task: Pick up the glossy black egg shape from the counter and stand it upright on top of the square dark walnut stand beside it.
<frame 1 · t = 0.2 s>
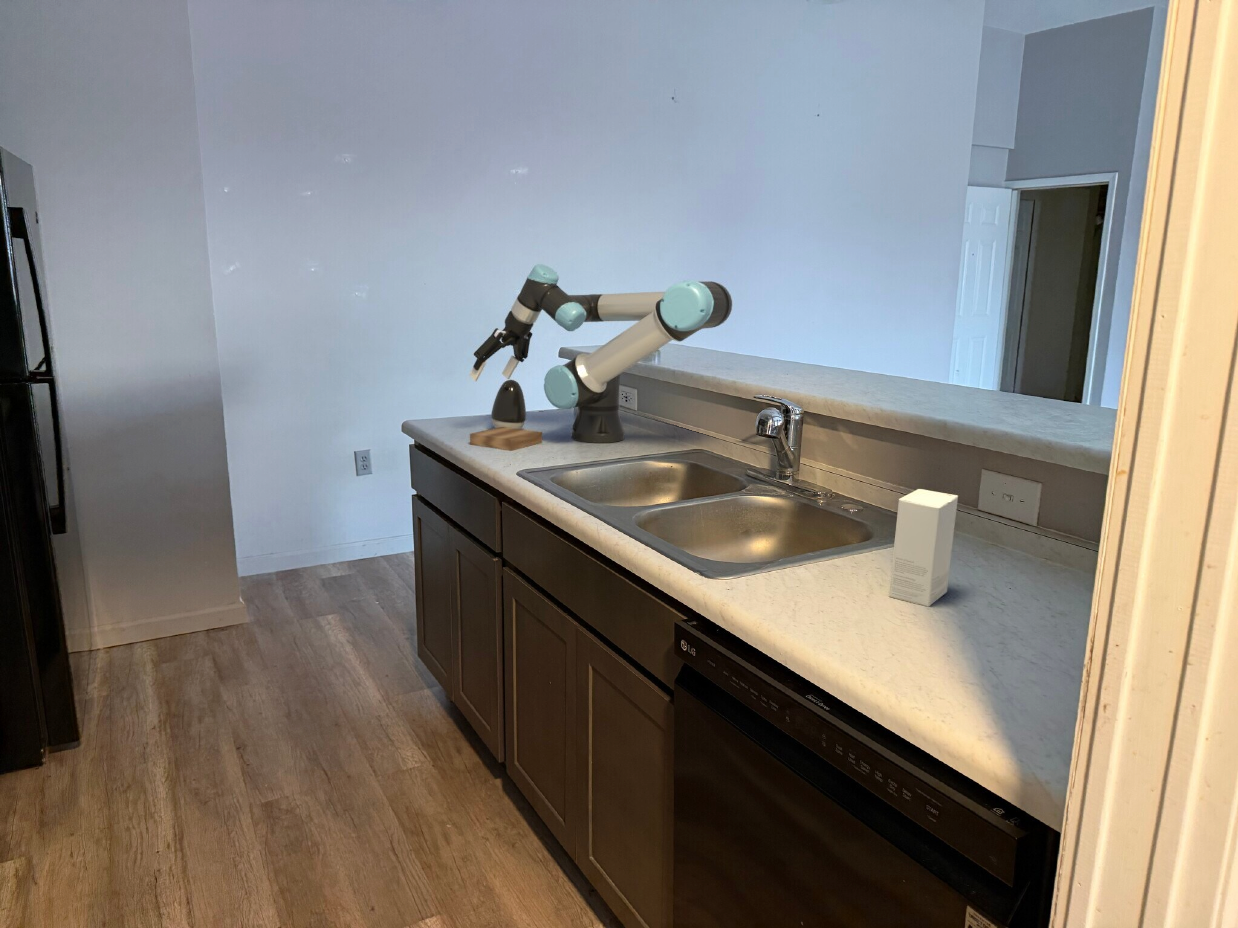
hand: (489, 377, 256), 16 cm above the worktop, tool tilted 35°, fingers open, 13 cm apart
walnut stand: (506, 443, 245), on the worktop
glossy black egg shape: (507, 431, 263), on the worktop, touching gripper
skincare box: (918, 596, 135), on the worktop
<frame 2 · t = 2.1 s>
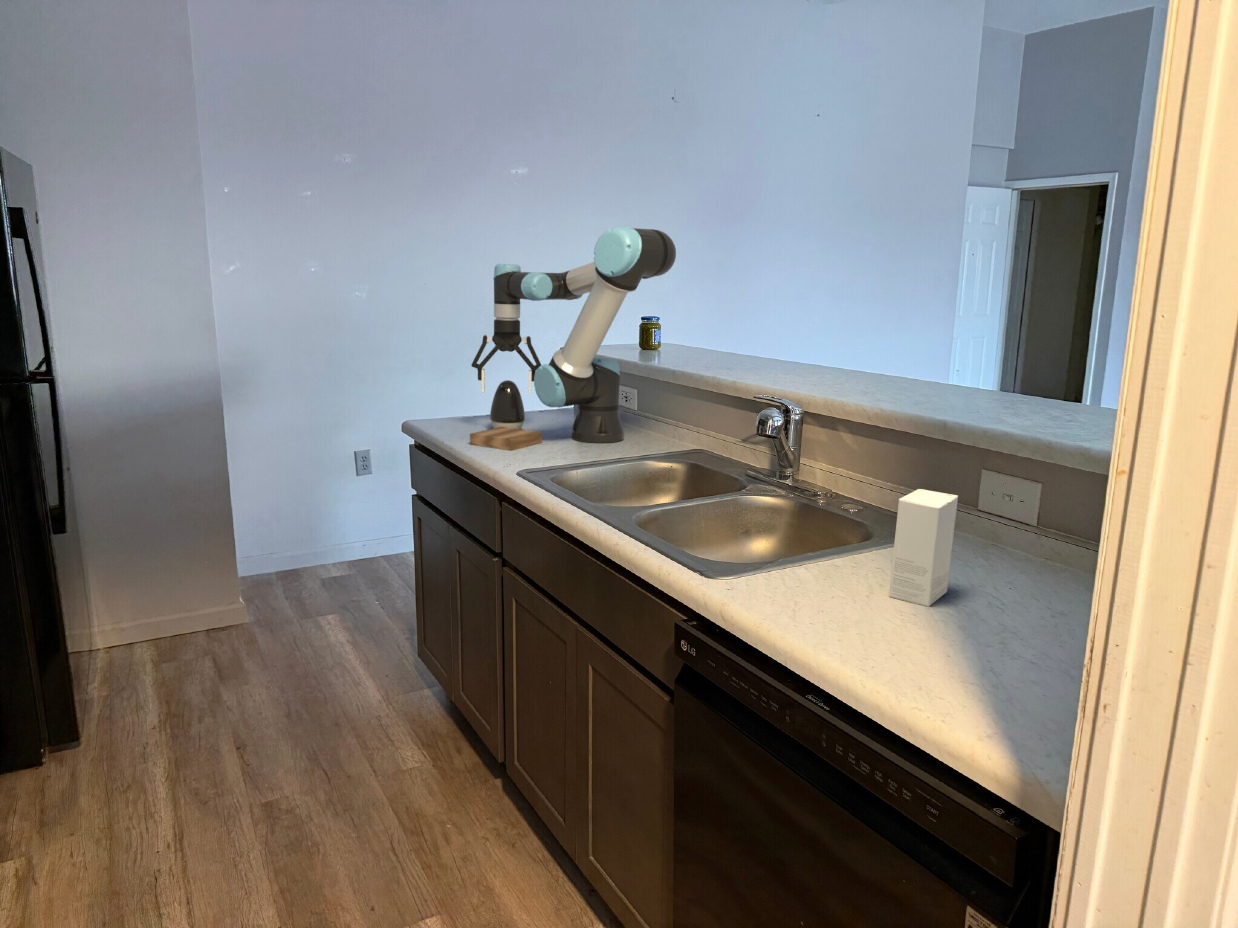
hand: (506, 392, 261), 12 cm above the worktop, tool pointing down, fingers open, 13 cm apart
glossy black egg shape: (507, 432, 263), on the worktop
everything else where it was.
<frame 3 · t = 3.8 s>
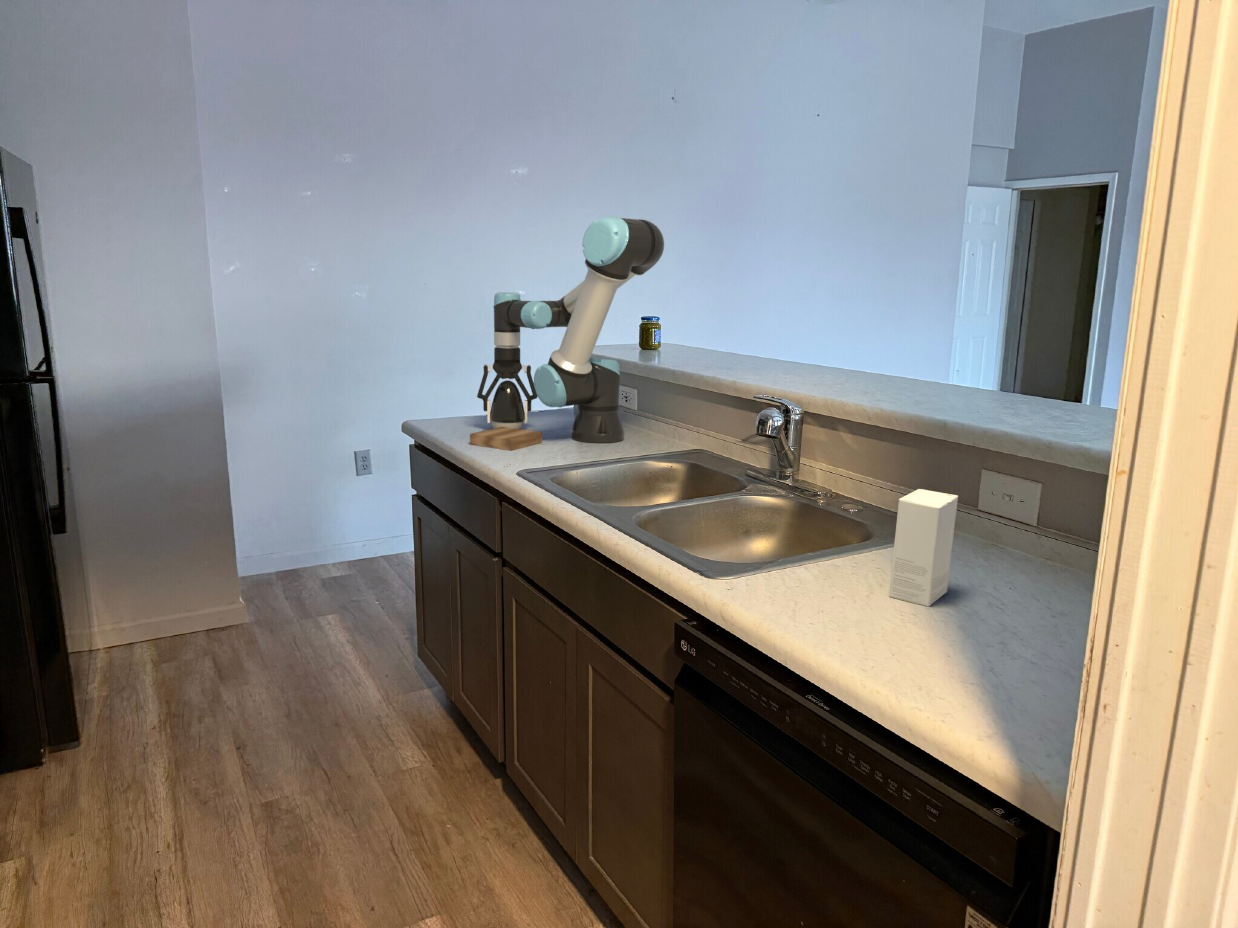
hand: (507, 422, 263), 3 cm above the worktop, tool pointing down, fingers closed on glossy black egg shape, 10 cm apart
glossy black egg shape: (507, 432, 263), on the worktop, touching gripper
everything else where it was.
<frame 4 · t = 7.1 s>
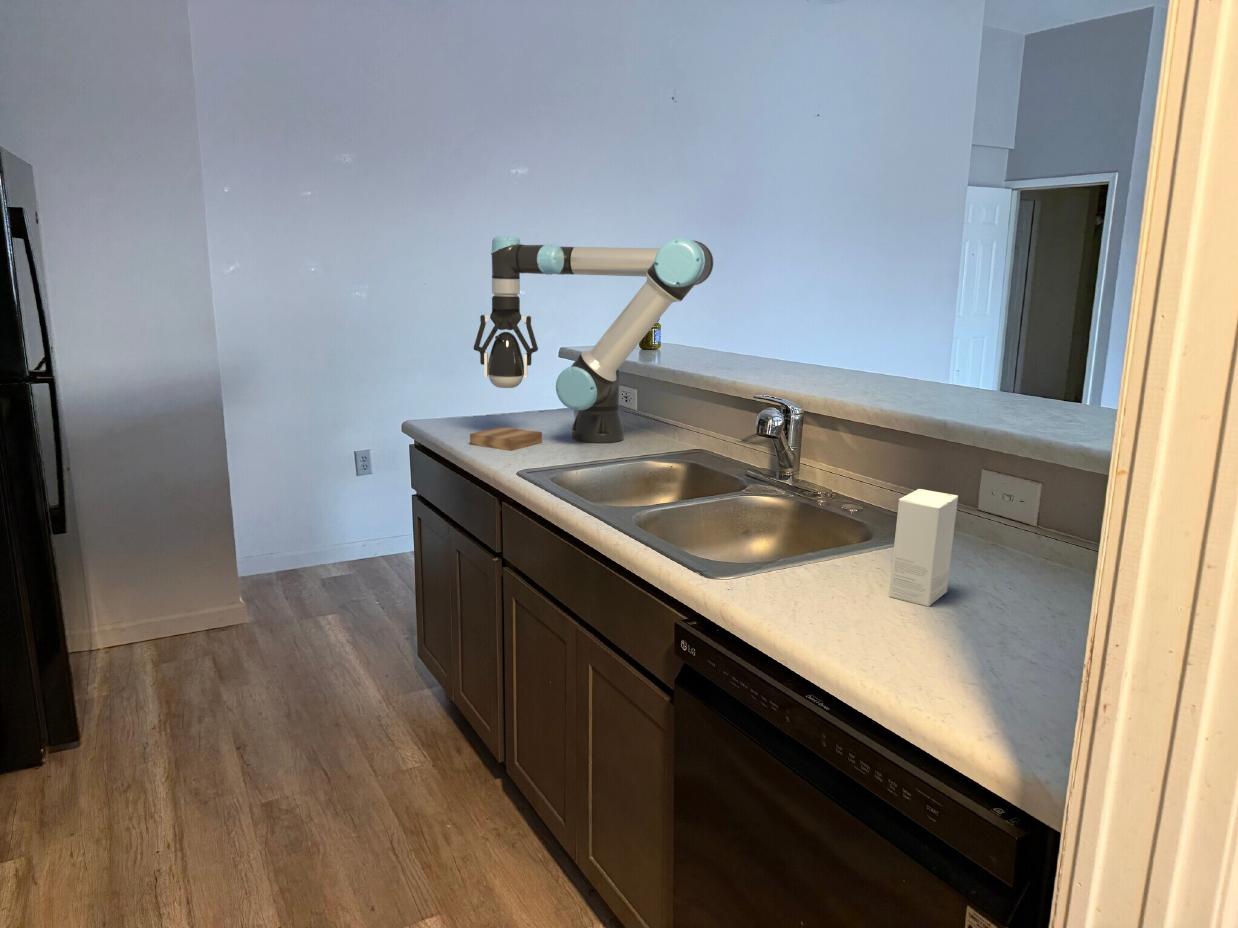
hand: (506, 377, 246), 18 cm above the worktop, tool pointing down, fingers closed on glossy black egg shape, 10 cm apart
glossy black egg shape: (505, 387, 247), point 15 cm above the worktop, touching gripper
everything else where it was.
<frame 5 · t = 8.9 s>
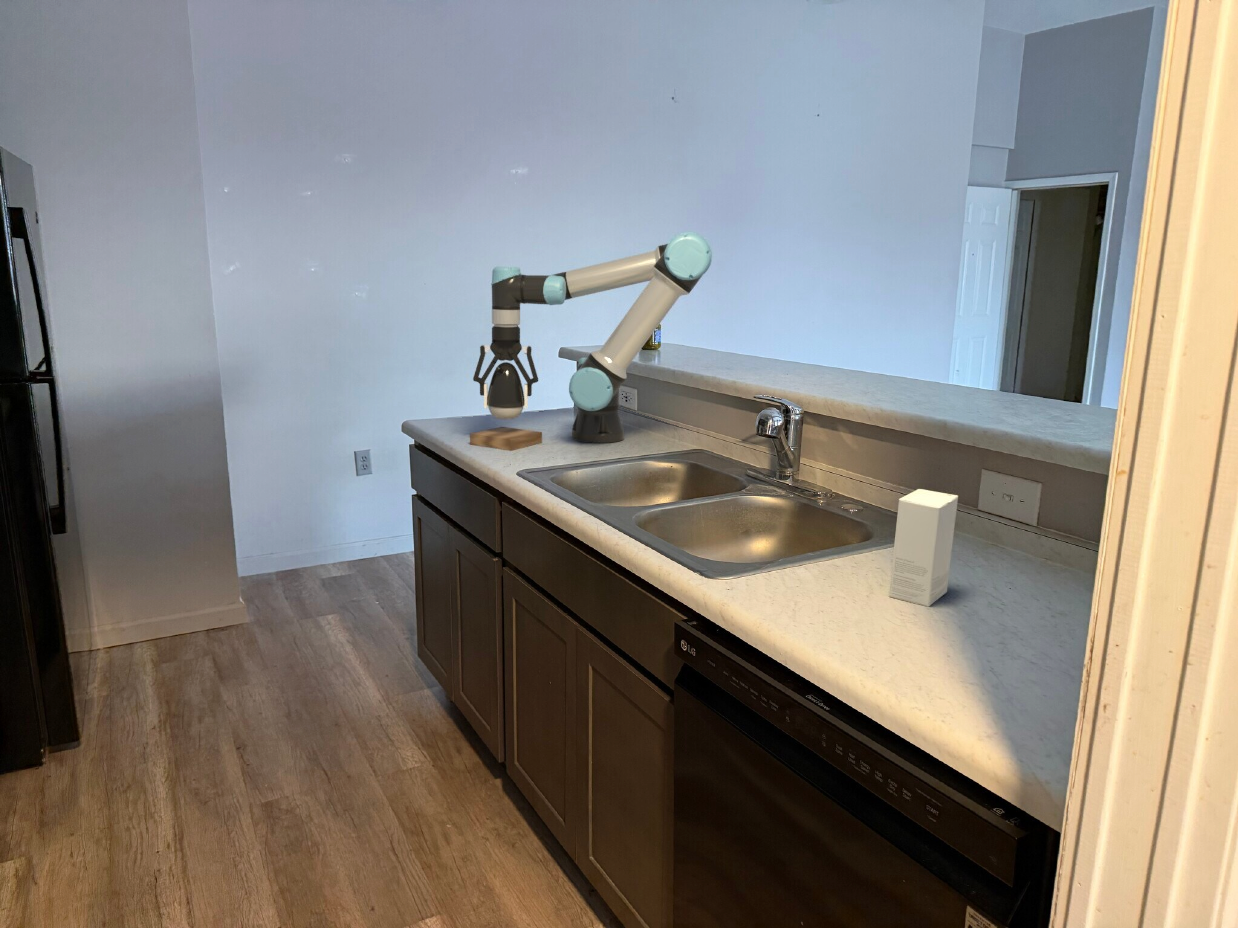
hand: (505, 407, 243), 10 cm above the worktop, tool pointing down, fingers closed on glossy black egg shape, 10 cm apart
glossy black egg shape: (505, 418, 244), point 7 cm above the worktop, touching gripper
everything else where it was.
when the fingers open (7 cm above the worktop, at t = 10.4 s): glossy black egg shape drops 1 cm, resting on walnut stand.
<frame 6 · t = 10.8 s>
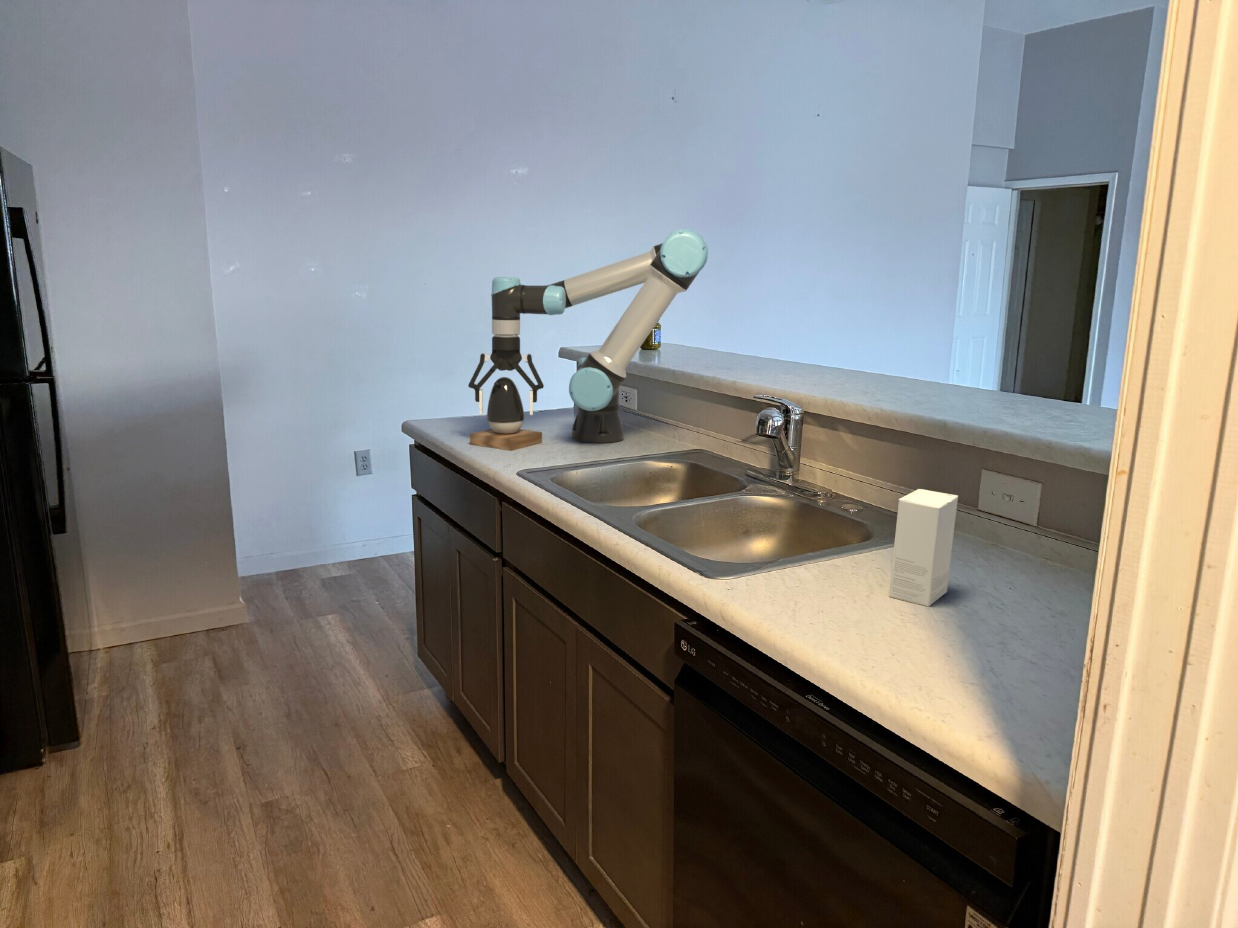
hand: (506, 414, 243), 8 cm above the worktop, tool pointing down, fingers open, 13 cm apart
glossy black egg shape: (506, 433, 245), point 3 cm above the worktop, touching walnut stand
everything else where it was.
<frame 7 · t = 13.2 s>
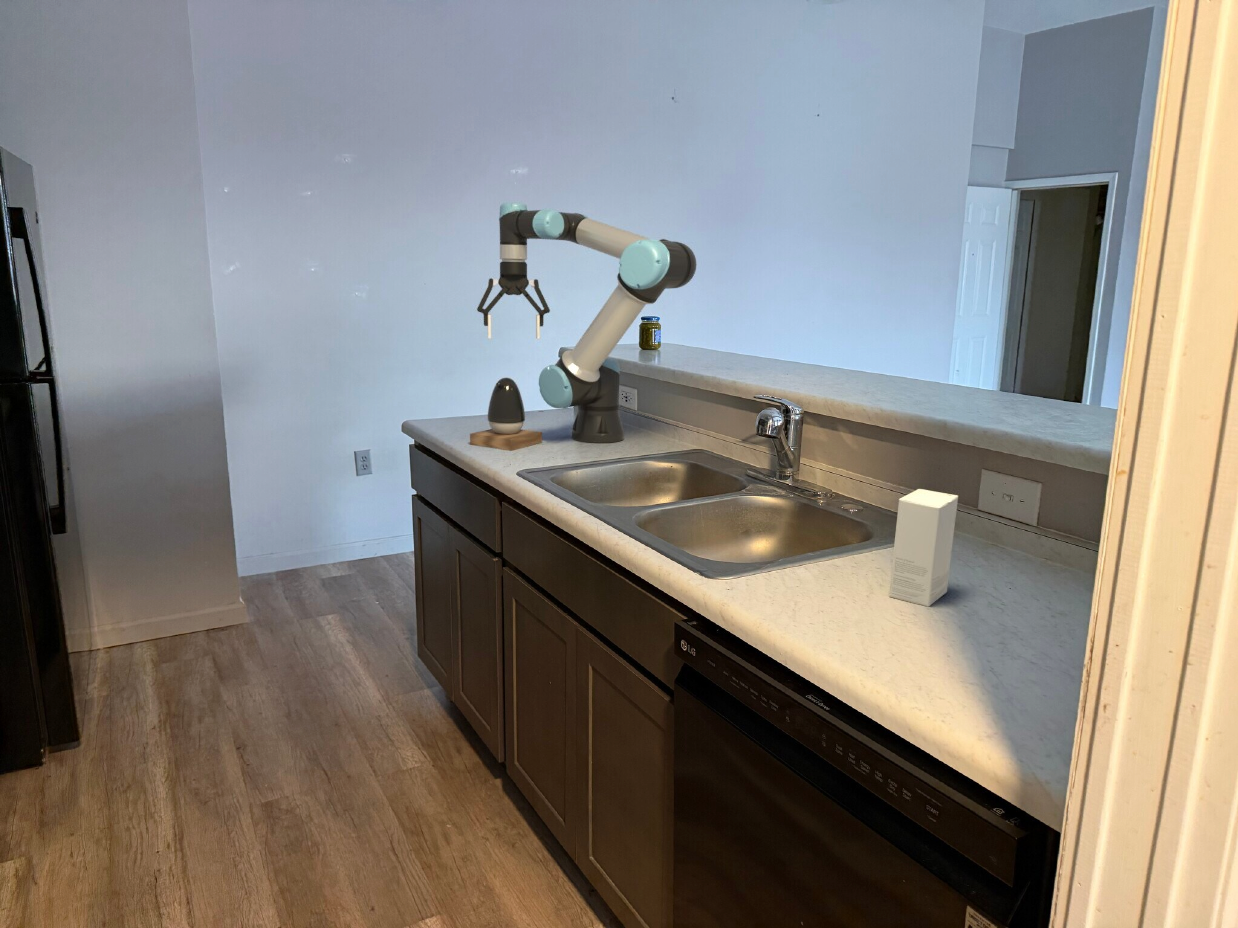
hand: (513, 338, 252), 28 cm above the worktop, tool pointing down, fingers open, 13 cm apart
nothing on the worktop moved.
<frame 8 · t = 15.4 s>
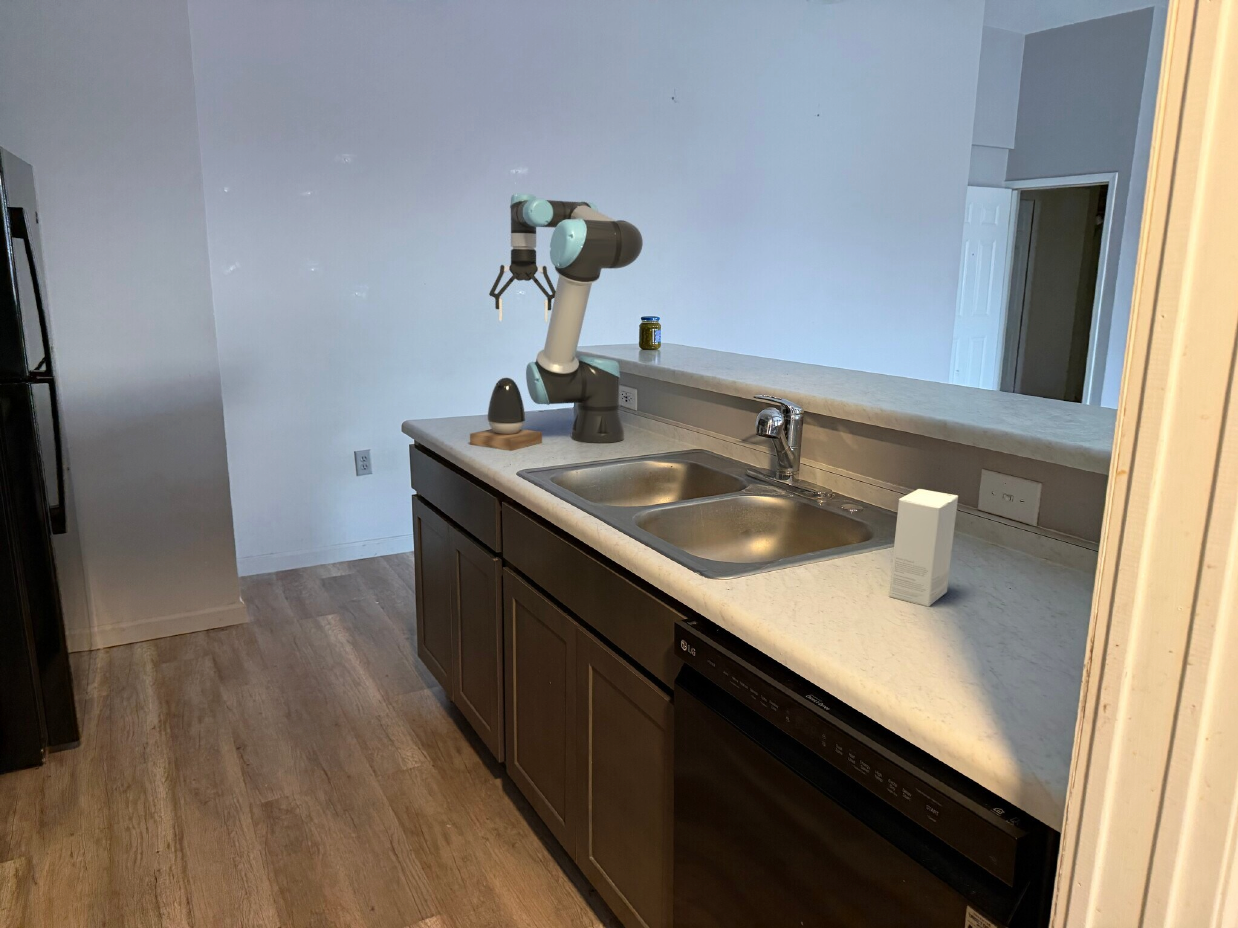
hand: (523, 321, 268), 32 cm above the worktop, tool pointing down, fingers open, 13 cm apart
nothing on the worktop moved.
at the end: glossy black egg shape inside the target area on the walnut stand (0.1 cm from its centre), point 2.8 cm above the walnut stand's base; glossy black egg shape tilted 0°; the gripper is holding nothing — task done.
